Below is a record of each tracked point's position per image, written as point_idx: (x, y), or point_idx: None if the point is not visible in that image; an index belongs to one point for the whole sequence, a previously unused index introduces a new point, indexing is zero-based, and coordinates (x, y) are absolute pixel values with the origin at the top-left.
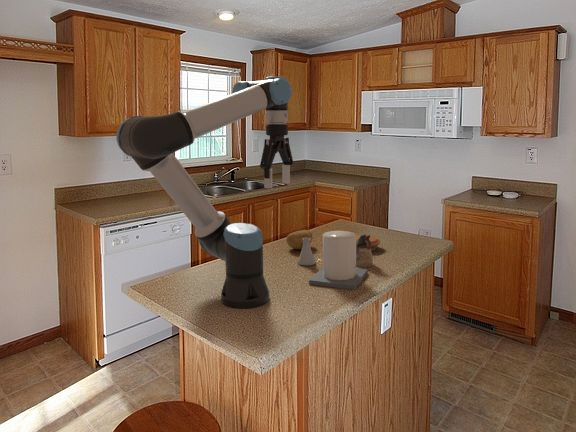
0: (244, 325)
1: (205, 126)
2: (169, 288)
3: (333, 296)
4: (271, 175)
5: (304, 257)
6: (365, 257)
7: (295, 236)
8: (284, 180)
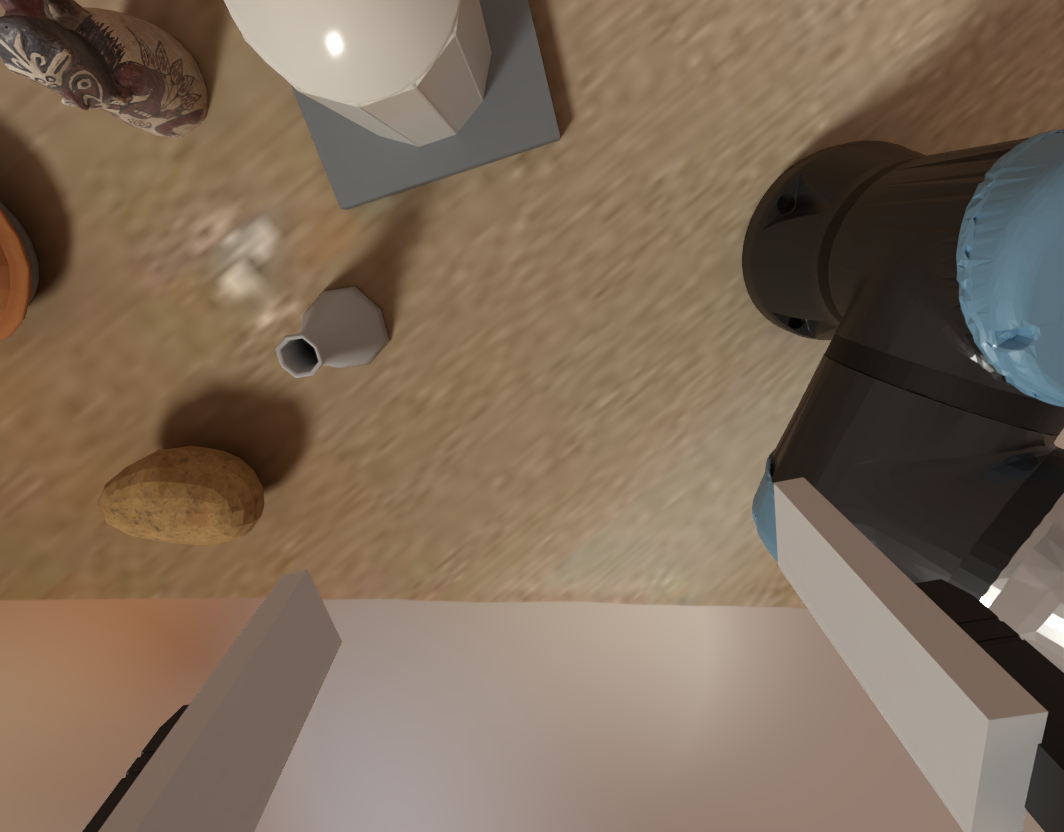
0: (1060, 60)
1: None
2: None
3: None
4: (915, 598)
5: (362, 326)
6: (147, 29)
7: (228, 493)
8: (317, 645)
